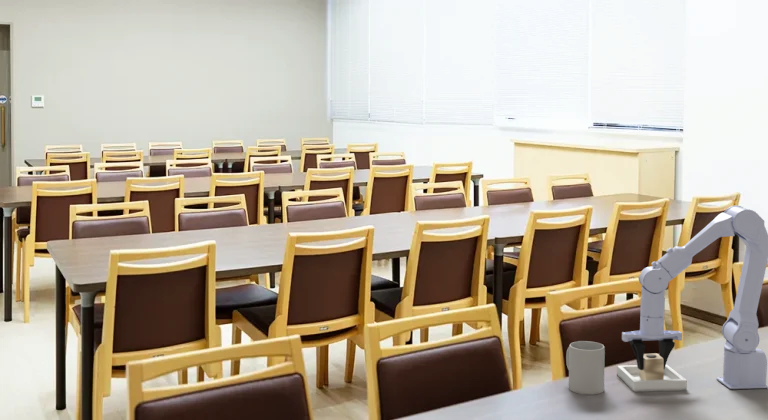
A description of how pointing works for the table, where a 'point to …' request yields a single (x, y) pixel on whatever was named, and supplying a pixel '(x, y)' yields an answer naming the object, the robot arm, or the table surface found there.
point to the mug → (586, 367)
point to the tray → (632, 379)
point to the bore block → (652, 367)
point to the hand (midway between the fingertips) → (651, 368)
